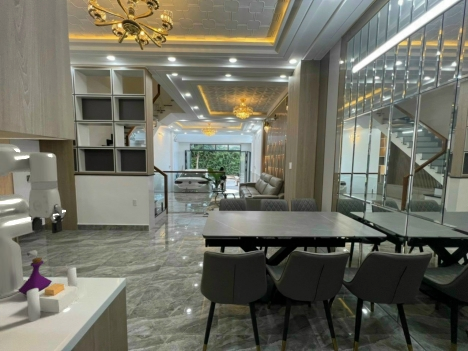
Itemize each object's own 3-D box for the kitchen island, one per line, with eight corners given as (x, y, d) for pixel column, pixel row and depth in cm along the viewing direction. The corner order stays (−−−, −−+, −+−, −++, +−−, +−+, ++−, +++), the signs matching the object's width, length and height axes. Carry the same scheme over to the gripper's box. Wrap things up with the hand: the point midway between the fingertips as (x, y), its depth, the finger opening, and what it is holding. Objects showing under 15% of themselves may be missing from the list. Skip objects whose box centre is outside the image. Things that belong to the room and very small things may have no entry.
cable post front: (26, 321, 74) (24, 293, 74) (35, 315, 77) (33, 287, 77) (34, 322, 74) (31, 293, 73) (43, 315, 77) (40, 288, 76)
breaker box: (31, 309, 80) (30, 296, 80) (52, 296, 88) (51, 284, 88) (59, 312, 78) (58, 299, 78) (78, 298, 86) (77, 286, 86)
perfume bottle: (52, 288, 94) (49, 247, 92) (35, 299, 86) (31, 255, 85) (37, 287, 94) (33, 247, 93) (18, 298, 87) (14, 254, 86)
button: (45, 299, 81) (44, 289, 81) (55, 293, 85) (54, 283, 85) (54, 300, 81) (53, 290, 80) (64, 293, 85) (63, 283, 84)
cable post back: (66, 294, 89) (64, 270, 89) (73, 290, 92) (71, 267, 91) (73, 294, 89) (71, 271, 88) (79, 290, 92) (77, 267, 91)
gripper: (15, 186, 79) (18, 232, 81) (51, 188, 75) (54, 236, 77) (38, 183, 87) (41, 226, 88) (72, 185, 82) (74, 230, 84)
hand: (47, 231), depth 82 cm, fingers open, 9 cm apart
